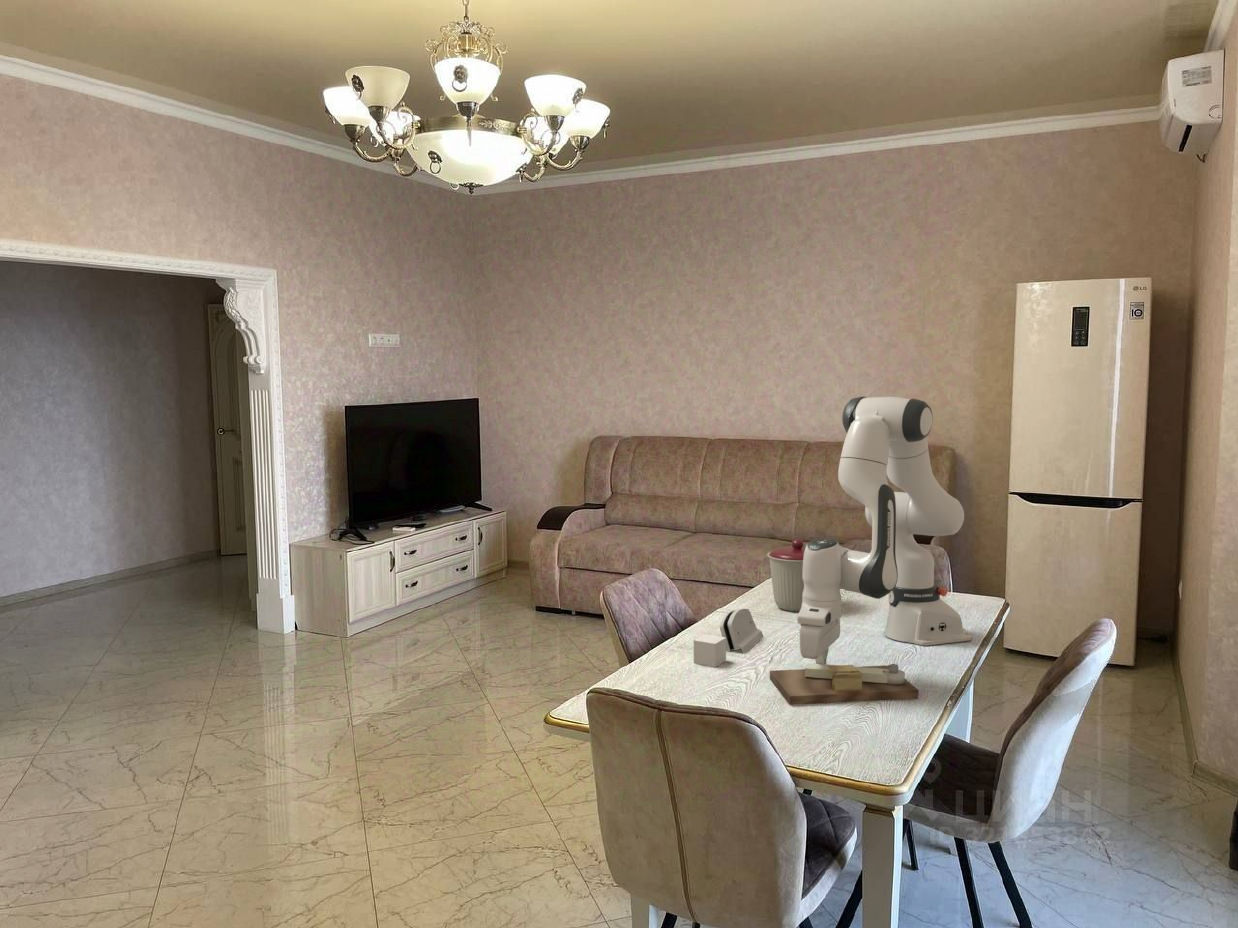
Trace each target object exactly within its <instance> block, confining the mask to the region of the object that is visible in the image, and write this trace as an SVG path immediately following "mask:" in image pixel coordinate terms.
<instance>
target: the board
mask: <svg viewBox="0 0 1238 928" xmlns="http://www.w3.org/2000/svg"><path fill="white" fill-rule="evenodd" d="M889 665H890V664H887V665H869V666H867V665H865V666H861V667H867V668H880V669H889ZM769 680H770V681H771V682H772V684H773V685H774V687H775V688H776V689H777V690H778V692H779V693H780V695H781V696H782V697H783V698H784V699H785V701H786V702H787V704H788V705H789V706H799V705H801V706H803V705H820V704H840V703H857V702H858V703H860V702H879V701H881V702H882V701H900V700H902V701H903V700H919V694H920V693H919V689H918V688H917V687H916V686H914V685H913V684H912V683H911V682H910V681H908V680H907V678H905V682H904V683H903V684H899V685H893V684H888V683H876V682H864V681H862V691H853V692H834V690H833V689H832V679H826V678H814V677H805V668H802V669H801V668H800V669H797V668H796V669H784V670H783V669H779V670H769Z"/></svg>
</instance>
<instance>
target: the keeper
mask: <svg viewBox="0 0 1238 928" xmlns="http://www.w3.org/2000/svg"><path fill="white" fill-rule="evenodd" d="M835 665H836V666H827V671H828V672H829V673H830V674H831V675H832V689H833V690H834V692H853V691H862V673H861V672H860V671H859V670H858V669H857V668H856V667H857V666H855V665H853V664H842V665H841V664H839V665H837V664H835Z"/></svg>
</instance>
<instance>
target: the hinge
mask: <svg viewBox="0 0 1238 928" xmlns="http://www.w3.org/2000/svg"><path fill="white" fill-rule="evenodd" d="M719 630H720V634H721V637H725V638H726V653H727V652H728V653H729V652H731V651H733V650H734V651H738V650H740V649H741V651H742V654H743V653H745V654H746V653H748V651H750V650H751V649H752V648H753V647H755V645H756V644H757V643H758V642H759V641H761V640H762V639H763V638H764V635H763V631H762V630H761V629H759V628H757V626H756V623H755V621H754V617H753V615H752V614H751V611H750V609H748V608H738V609H735V610H732V611H729V612H728V613H727V614H726V613H725V615H724V616H723V617H722V619H721V621H720V624H719ZM749 649H750V650H749Z"/></svg>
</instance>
